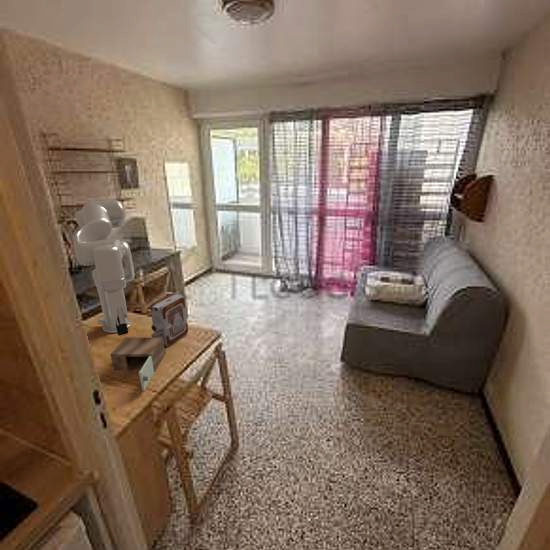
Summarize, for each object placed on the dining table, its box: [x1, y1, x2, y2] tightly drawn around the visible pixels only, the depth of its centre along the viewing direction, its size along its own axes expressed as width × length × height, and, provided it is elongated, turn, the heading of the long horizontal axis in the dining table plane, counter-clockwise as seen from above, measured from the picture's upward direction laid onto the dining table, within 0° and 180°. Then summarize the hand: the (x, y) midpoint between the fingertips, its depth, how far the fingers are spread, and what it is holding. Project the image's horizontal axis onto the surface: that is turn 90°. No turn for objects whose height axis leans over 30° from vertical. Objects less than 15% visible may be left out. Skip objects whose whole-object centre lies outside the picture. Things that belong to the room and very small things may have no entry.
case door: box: [138, 356, 155, 391], centre depth 120 cm, size 10×2×8 cm, turn 0°
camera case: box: [110, 336, 166, 373], centre depth 131 cm, size 16×12×8 cm
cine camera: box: [149, 293, 189, 347], centre depth 144 cm, size 9×19×20 cm, turn 152°
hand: (123, 333), depth 111 cm, fingers closed
